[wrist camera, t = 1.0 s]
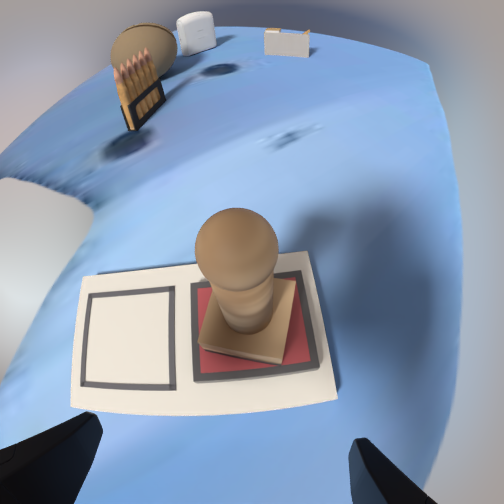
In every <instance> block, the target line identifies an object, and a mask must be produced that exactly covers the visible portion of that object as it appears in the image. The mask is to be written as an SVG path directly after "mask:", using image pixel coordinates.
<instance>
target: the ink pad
mask: <svg viewBox="0 0 504 504" xmlns="http://www.w3.org/2000/svg"><path fill="white" fill-rule="evenodd" d="M273 278H278V279H284V280H291V281H296V284H295V291H294V297H293V303H292V309H291V315H290V320H289V326H288V332H287V337H286V343H285V348H284V354H283V359H282V363H281V366H276V365H270V364H265V363H259V362H254V361H249V360H244V359H239V358H234V357H229V356H224V355H220V354H216V353H211V352H207V351H205V350H204V349H203V348H202V347H201V346H200V344H199V343H198V342H197V341H198V338H199V334H200V331H201V327H202V324H203V320H204V317H205V314H206V310H207V307H208V303H209V300H210V297H211V293H212V290H213V289H212V287H211V284H210V282H209V281H204V282H195V283H190V295H191V341H192V365H193V382H195V383H197V384H199V383H217V382H230V381H242V380H252V379H261V378H269V377H277V376H284V375H291V374H298V373H304V372H310V371H316V370H318V369H319V368H320V364H319V359H318V353H317V347H316V342H315V336H314V331H313V326H312V321H311V316H310V310H309V305H308V300H307V295H306V291H305V286H304V281H303V276H302V271H301V270H297V271H289V272H281V273H274V277H273Z"/></svg>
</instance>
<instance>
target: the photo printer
mask: <svg viewBox="0 0 504 504" xmlns="http://www.w3.org/2000/svg"><path fill="white" fill-rule="evenodd" d="M177 30H178V35H179V40H180V45H181V50H182V54H183V56H190V55H193V54H196V53H199V52H201V51H204V50H207V49H210V48H213V47H216V37H215V30H214V24H213V17H212V14H211V13H210V12H193V13H190V14H187V15H185V16H183V17H181V18H180V19H179V20H177Z"/></svg>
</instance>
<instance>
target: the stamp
mask: <svg viewBox="0 0 504 504" xmlns="http://www.w3.org/2000/svg"><path fill="white" fill-rule="evenodd" d="M278 252H279V249H278V240H277V237H276V234H275V232H274V230H273V228H272V226H271V225H270V224H269V222H268V221H267V220H266V219H265V218H263V217H262V216H261V215H259V214H258V213H256V212H254V211H251V210H248V209H244V208H229V209H225V210H222V211H220V212H218V213H216V214H214V215H213V216H211V217H210V218H209V219H208V220H207V221H206V222H205V223H204V224H203V226H202V227H201V229H200V231H199V233H198V235H197V238H196V243H195V257H196V261H197V264H198V267H199V269H200V271H201V272H202V274H203V275H204V277H205V278H206V279H207V280H208V281H209V282H210V284H211V287H212V289H213V290H212V293H211V297H210V300H209V303H208V307H207V310H206V314H205V317H204V320H203V324H202V327H201V331H200V334H199V338H198V341H197V342H198V343H199V344H200V346H201V347H202V348H203V349H204V350H205V351H207V352H211V353H216V354H220V355H224V356H229V357H234V358H239V359H244V360H249V361H254V362H259V363H265V364H270V365H276V366H281V363H282V359H283V354H284V348H285V343H286V337H287V332H288V326H289V320H290V315H291V309H292V303H293V297H294V291H295V284H296V281H291V280H284V279H278V278H273V277H274V267H275V265H276V263H277V259H278Z"/></svg>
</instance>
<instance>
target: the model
mask: <svg viewBox="0 0 504 504" xmlns="http://www.w3.org/2000/svg"><path fill="white" fill-rule="evenodd" d="M309 31H310V30H308V31H306V32H304V33H303V34H294V33H280V32H281V28H267V29H266V30H265V32H264V46H265V55H282V56H296V57H307V58H309V35H308V33H310V32H309Z"/></svg>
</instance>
